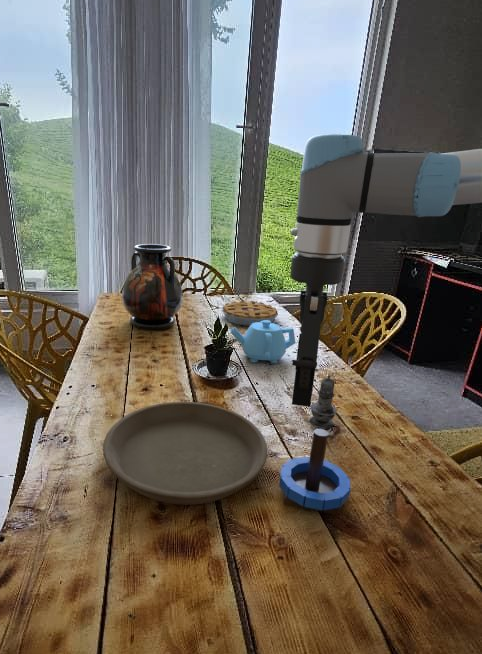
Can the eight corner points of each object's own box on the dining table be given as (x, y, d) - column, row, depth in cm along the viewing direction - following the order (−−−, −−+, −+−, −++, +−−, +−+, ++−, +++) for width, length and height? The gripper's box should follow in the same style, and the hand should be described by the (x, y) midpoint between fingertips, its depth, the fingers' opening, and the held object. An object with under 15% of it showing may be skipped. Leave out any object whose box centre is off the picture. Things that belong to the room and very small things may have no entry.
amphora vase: (110, 324, 160) (107, 245, 149) (149, 312, 177) (149, 240, 166) (156, 338, 149) (156, 254, 138) (193, 323, 165) (196, 247, 155)
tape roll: (346, 472, 82) (348, 463, 81) (350, 515, 72) (352, 506, 71) (282, 461, 85) (283, 452, 84) (277, 501, 74) (278, 492, 73)
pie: (217, 310, 183) (218, 298, 181) (269, 310, 185) (270, 299, 184) (226, 327, 163) (227, 314, 161) (284, 327, 165) (285, 314, 163)
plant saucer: (240, 539, 68) (242, 515, 66) (69, 486, 77) (67, 464, 76) (279, 437, 95) (281, 418, 93) (149, 408, 105) (149, 390, 103)
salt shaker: (314, 413, 106) (321, 367, 101) (338, 421, 102) (346, 374, 98) (304, 423, 101) (311, 375, 97) (328, 432, 98) (337, 383, 93)
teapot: (288, 348, 145) (292, 314, 140) (298, 369, 129) (303, 331, 125) (227, 346, 145) (229, 311, 140) (229, 366, 129) (232, 328, 125)
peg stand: (336, 482, 82) (347, 423, 77) (338, 515, 74) (351, 451, 69) (286, 473, 84) (295, 415, 79) (283, 504, 76) (292, 442, 71)
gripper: (296, 241, 76) (283, 355, 84) (288, 266, 54) (272, 419, 62) (341, 244, 75) (324, 360, 83) (352, 271, 52) (327, 427, 60)
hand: (302, 385), depth 72 cm, fingers open, 13 cm apart
